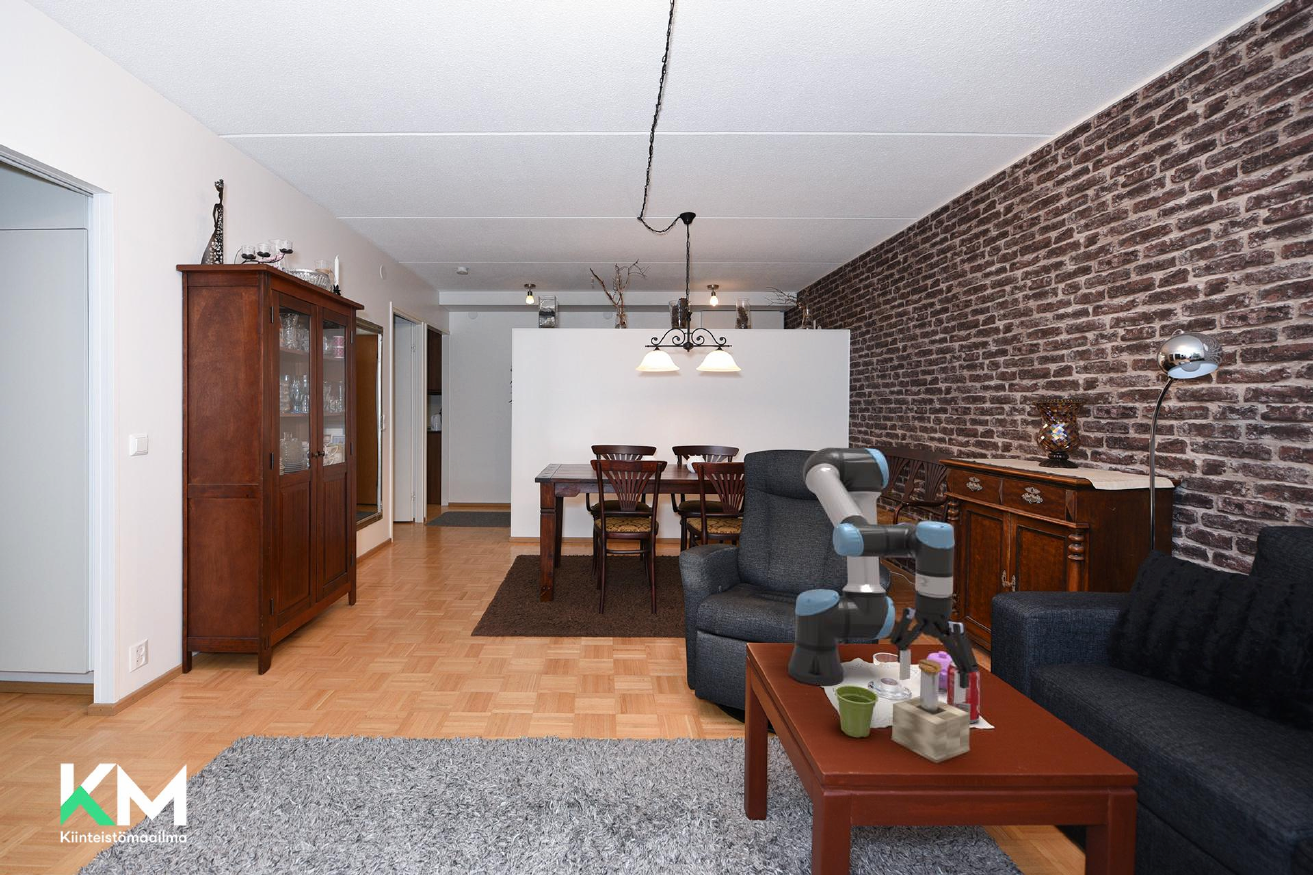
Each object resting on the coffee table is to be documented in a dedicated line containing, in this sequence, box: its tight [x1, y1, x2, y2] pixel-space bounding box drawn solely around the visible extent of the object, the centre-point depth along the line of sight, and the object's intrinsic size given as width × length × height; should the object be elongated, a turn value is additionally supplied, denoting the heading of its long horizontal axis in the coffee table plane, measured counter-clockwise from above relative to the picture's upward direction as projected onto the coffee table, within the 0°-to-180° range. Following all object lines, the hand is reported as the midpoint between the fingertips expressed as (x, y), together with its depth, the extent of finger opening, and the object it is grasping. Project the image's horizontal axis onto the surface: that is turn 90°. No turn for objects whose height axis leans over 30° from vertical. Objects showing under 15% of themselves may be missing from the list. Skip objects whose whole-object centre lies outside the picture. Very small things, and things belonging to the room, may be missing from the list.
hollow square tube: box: [891, 695, 971, 764], centre depth 135 cm, size 11×11×8 cm
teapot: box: [926, 650, 952, 690], centre depth 167 cm, size 10×15×9 cm
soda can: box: [946, 660, 981, 724], centre depth 149 cm, size 7×7×13 cm
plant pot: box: [834, 685, 879, 738], centre depth 140 cm, size 9×9×9 cm
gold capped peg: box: [918, 658, 942, 715], centre depth 135 cm, size 5×5×17 cm
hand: (931, 689), depth 135 cm, fingers open, 13 cm apart
